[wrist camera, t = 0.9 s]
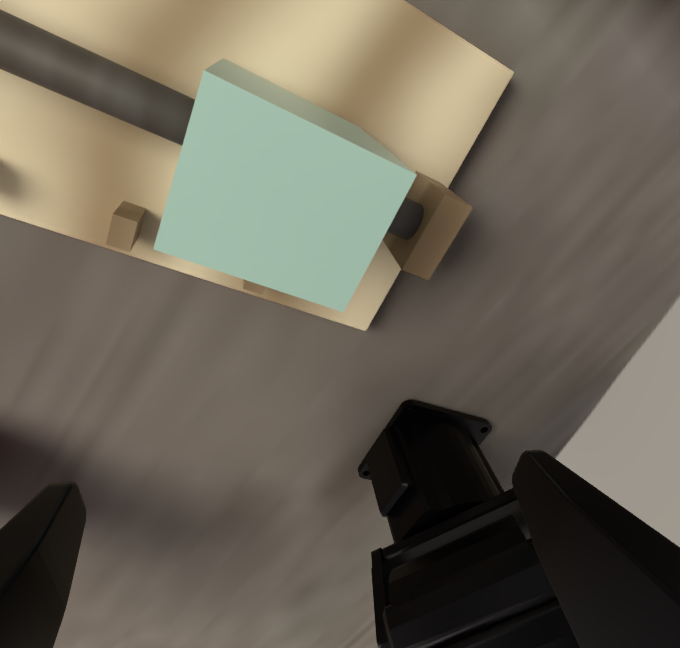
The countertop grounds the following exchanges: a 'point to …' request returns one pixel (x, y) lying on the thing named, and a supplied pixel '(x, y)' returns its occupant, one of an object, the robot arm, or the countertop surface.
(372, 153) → the sleeve
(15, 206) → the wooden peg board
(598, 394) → the countertop surface
